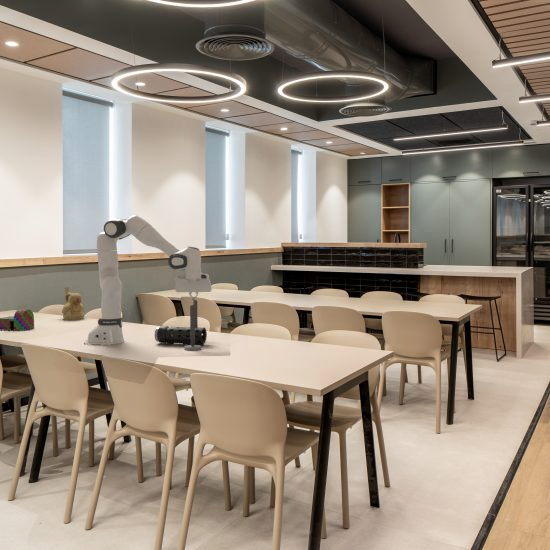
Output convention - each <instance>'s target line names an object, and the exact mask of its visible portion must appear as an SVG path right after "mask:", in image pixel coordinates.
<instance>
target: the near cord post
mask: <svg viewBox="0 0 550 550" xmlns="http://www.w3.org/2000/svg"><path fill="white" fill-rule="evenodd" d="M189 322H190V323H189V327H190V344H191V345H188V344H186V345H183V346H184V347H183V348H184V349H183V350H185V351H189V352H190V351H191V352H193V351H200V350H202V345H195V307H194V305H193V304H191V305H190V306H189Z"/></svg>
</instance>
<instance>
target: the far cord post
mask: <svg viewBox="0 0 550 550" xmlns="http://www.w3.org/2000/svg"><path fill="white" fill-rule="evenodd" d="M192 305H194V307H195V328H199V326H198V322H199V321H198V300H197V299H196V300H192Z"/></svg>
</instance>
